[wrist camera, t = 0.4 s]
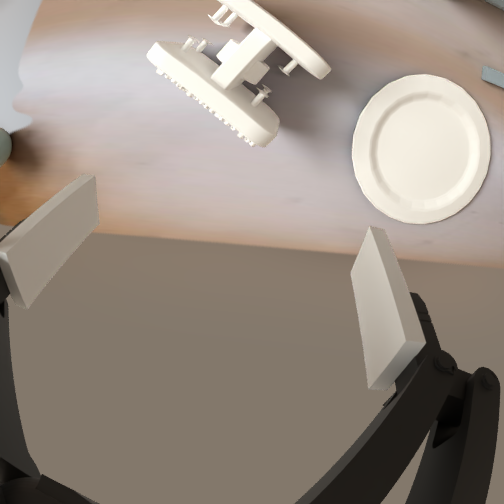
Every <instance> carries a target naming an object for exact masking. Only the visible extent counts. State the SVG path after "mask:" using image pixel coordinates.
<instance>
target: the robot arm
mask: <svg viewBox="0 0 504 504" xmlns="http://www.w3.org/2000/svg"><path fill="white" fill-rule="evenodd" d="M99 223H100V222H99V213H98V203H97V192H96V178H95V175H89V174H82V175H81V176H79V177H78V178H77V179H75V180H74V181H73V182H71V183H70V184H69V185H67V186H66V187H65V188H63V189H62V190H61V191H59V192H58V193H57V194H56V195H54V196H53V197H52V198H51V199H49V200H48V201H47V202H46V203H44V204H43V205H42V206H41V207H40V208H38V209H37V210H36V211H35V212H34V213H32V214H31V215H30V216H29V217H28V218H26V219H24V220H22V221H20V222H19V223H18V224H17V225H15V226H14V227H13V228H12V230H10V231H9V232H8V233H7V234H6V235H4V236H3V237H2V238H1V239H0V504H99V503H97V502H95V501H93V500H91V499H89V498H87V497H85V496H83V495H81V494H80V493H78V492H76V491H74V490H72V489H70V488H68V487H66V486H64V485H62V484H60V483H58V482H56V481H54V480H52V479H50V478H48V477H47V476H44V475H43V474H42V475H40V473H39V470H38V468H37V466H36V464H35V463H34V461H33V460H32V458H31V457H30V454H29V453H28V450H27V446H26V442H25V439H24V434H23V429H22V425H21V420H20V416H19V410H18V405H17V399H16V393H15V386H14V380H13V371H12V362H11V352H10V339H9V319H8V318H9V317H8V303H7V300H6V298H7V297H8V295H9V294H11V297H12V299H13V301H14V304H15V305H18V306H20V307H22V308H25V309H28V308H29V306H30V305H31V304H32V302H33V301H34V300H35V298H36V297H37V296H38V295H39V293H40V292H41V291H42V289H43V288H44V287H45V285H46V284H47V283H48V282H49V281H50V279H51V278H52V277H53V276H54V275H55V273H56V272H57V271H58V270H59V269H60V267H61V266H62V265H63V264H64V263H65V261H66V260H67V259H68V258H69V257H70V256H71V254H72V253H73V252H74V251H75V250H76V249H77V247H78V246H79V245H80V244H81V243H82V242H83V241H84V240H85V239H86V238H87V236H88V235H89V234H90V233H91V232H92V231H93V230H94V229H95V228H96V227H97V226H98V225H99ZM351 278H352V284H353V289H354V295H355V300H356V306H357V311H358V318H359V323H360V330H361V337H362V343H363V350H364V358H365V365H366V373H367V381H368V389H373V390H388V389H389V388H390V386H391V385H392V384H393V383H394V382H395V385H396V392H395V393H394V394H393V395H392V396H391V397H390V398H389V399H388V400H387V401H386V402H385V403H384V404H383V406H384V407H383V408H382V410H381V411H380V413H378V415H377V416H376V417H375V418H374V420H373V421H372V422H371V423H370V425H369V426H368V427H367V428H366V430H365V431H364V432H363V433H362V434H361V436H360V437H359V438H358V439H357V440H356V441H355V443H354V444H353V445H352V446H351V447H350V448H349V449H348V450H347V452H346V453H345V454H344V455H343V456H342V457H341V458H340V459H339V460H338V461H337V463H336V464H335V465H334V466H333V467H332V468H331V469H330V470H329V471H328V472H327V473H326V474H325V475H324V476H323V477H322V478H321V479H320V480H319V481H318V482H317V483H316V484H315V485H314V486H313V487H312V488H311V489H310V490H309V491H308V492H307V493H305V495H303V496H302V497H301V498H300V499H299V500H298V501H297V502H296V503H295V504H380V503H381V502H382V501H383V499H384V498H385V497H386V496H387V494H388V493H389V491H390V490H391V489H392V487H393V486H394V485H395V483H396V482H397V480H398V479H399V478H400V476H401V475H402V473H403V472H404V470H405V469H406V467H407V466H408V464H409V463H410V461H411V459H412V458H413V457H414V455H415V453H416V452H417V450H418V449H419V447H420V445H421V444H422V442H423V440H424V439H425V437H426V435H427V433H428V432H429V430H430V433H429V436H428V440H427V443H426V447H425V450H424V453H423V456H422V459H421V462H420V466H419V468H418V472H417V474H416V477H415V480H414V482H413V485H412V488H411V491H410V493H409V496H408V498H407V501H406V503H405V504H485V502H486V498H487V494H488V489H489V485H490V479H491V474H492V469H493V463H494V455H495V449H496V441H497V432H498V421H499V407H500V383H499V380H498V378H497V376H496V375H495V374H494V372H493V371H491V370H490V369H488V368H485V367H481V368H478V369H477V370H476V371H475V372H474V373H473V374H470V373H467V372H465V371H462V370H459V369H458V367H457V364H456V362H455V360H454V358H453V357H452V356H451V355H450V354H449V353H447V352H445V351H443V350H441V348H440V345H439V341H438V339H437V336H436V333H435V330H434V327H433V324H432V323H431V318H430V316H429V315H428V310H427V308H426V305H425V303H424V302H423V300H422V299H421V298H420V296H419V295H418V294H416V293H411V292H409V290H408V287H407V285H406V282H405V279H404V277H403V274H402V271H401V269H400V266H399V264H398V261H397V259H396V256H395V254H394V251H393V249H392V246H391V244H390V242H389V239H388V237H387V235H386V232H385V230H384V229H380V228H376V227H372V226H369V228H368V231H367V234H366V236H365V239H364V241H363V244H362V246H361V249H360V251H359V254H358V256H357V259H356V261H355V263H354V266H353V268H352V271H351ZM430 428H431V429H430Z"/></svg>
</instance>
